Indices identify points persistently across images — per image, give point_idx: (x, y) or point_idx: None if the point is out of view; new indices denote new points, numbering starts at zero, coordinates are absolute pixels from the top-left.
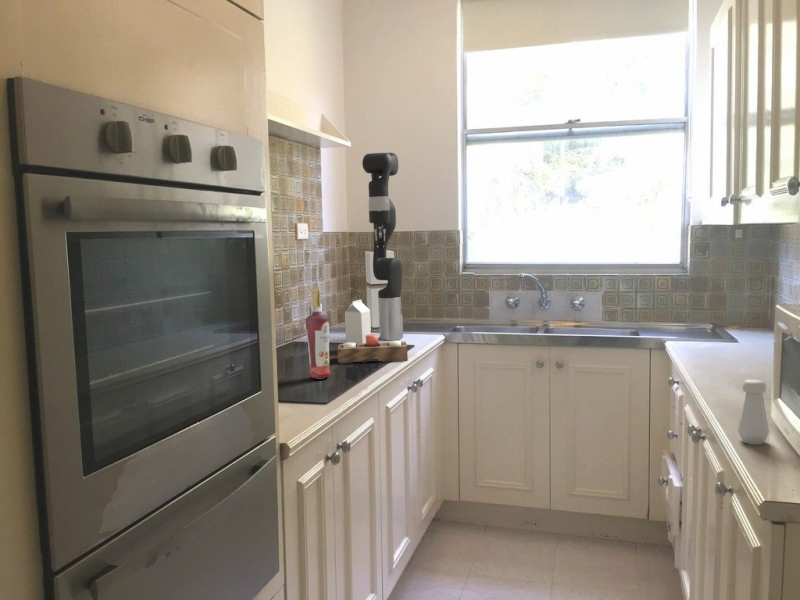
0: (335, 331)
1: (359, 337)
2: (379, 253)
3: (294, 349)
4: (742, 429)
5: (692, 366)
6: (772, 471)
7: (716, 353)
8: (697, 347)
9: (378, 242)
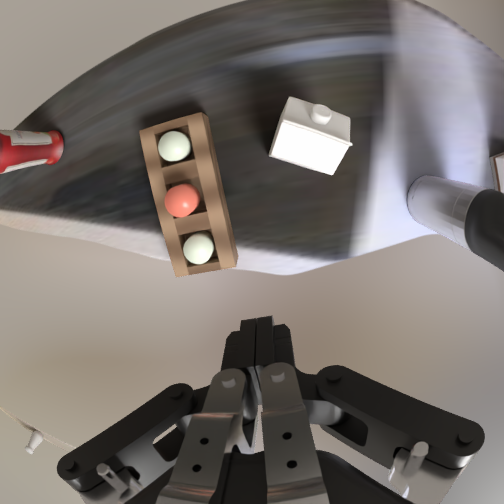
0: (493, 83)
1: (271, 147)
2: (225, 349)
3: (308, 6)
4: (32, 433)
5: None
6: (14, 418)
7: None
8: None
9: (142, 416)
